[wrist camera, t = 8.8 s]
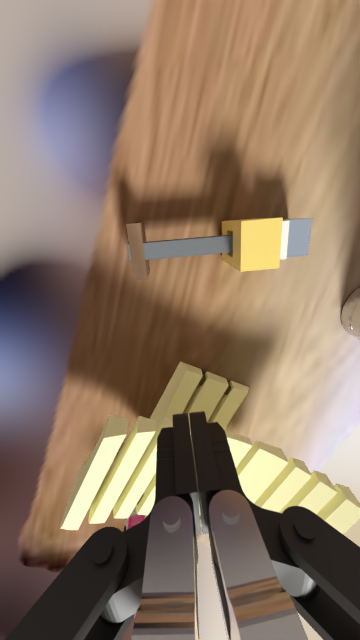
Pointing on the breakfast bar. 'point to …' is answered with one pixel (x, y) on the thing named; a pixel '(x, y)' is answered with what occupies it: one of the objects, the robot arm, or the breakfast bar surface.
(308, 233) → the block
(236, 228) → the yellow sliding collar
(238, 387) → the slatted curved stool
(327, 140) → the breakfast bar surface
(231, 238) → the grey slider rail
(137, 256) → the tan flat end block
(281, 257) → the pale beige end plate
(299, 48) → the breakfast bar surface
